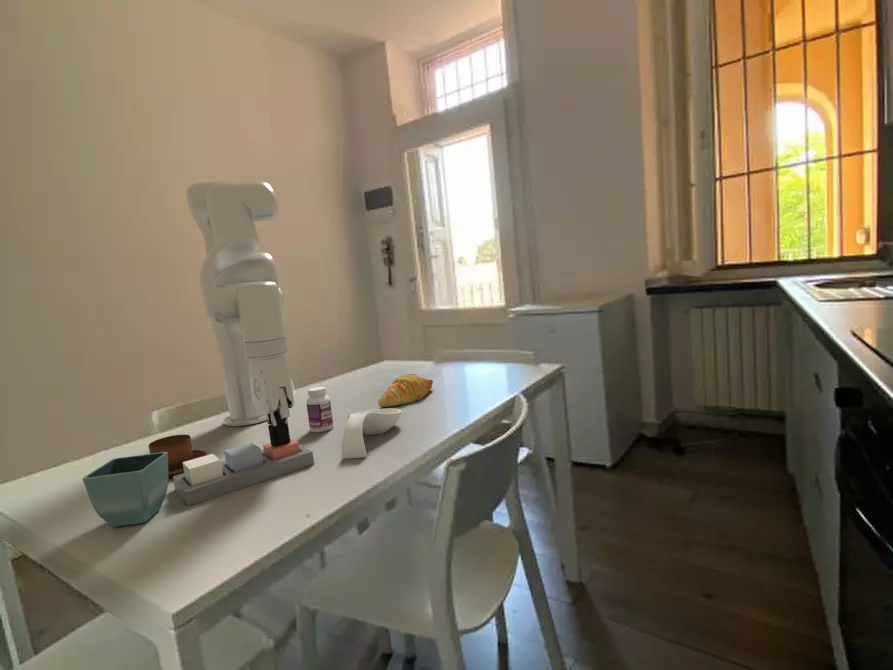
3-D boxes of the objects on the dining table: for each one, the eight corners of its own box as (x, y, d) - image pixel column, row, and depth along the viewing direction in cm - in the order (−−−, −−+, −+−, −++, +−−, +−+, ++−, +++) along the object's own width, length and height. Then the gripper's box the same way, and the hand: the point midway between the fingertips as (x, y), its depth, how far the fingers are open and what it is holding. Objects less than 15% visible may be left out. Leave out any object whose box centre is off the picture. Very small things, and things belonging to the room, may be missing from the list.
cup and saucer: (144, 468, 107) (139, 439, 106) (208, 454, 111) (203, 426, 110) (135, 489, 96) (129, 456, 95) (207, 472, 100) (202, 442, 100)
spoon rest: (357, 424, 123) (353, 394, 122) (406, 420, 122) (403, 390, 121) (325, 462, 100) (320, 425, 99) (386, 458, 98) (381, 421, 98)
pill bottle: (327, 432, 118) (322, 390, 116) (306, 433, 119) (300, 392, 118) (337, 425, 123) (332, 385, 122) (316, 425, 124) (311, 386, 123)
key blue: (226, 466, 96) (224, 450, 96) (254, 457, 99) (251, 442, 99) (235, 472, 92) (232, 456, 92) (263, 464, 95) (260, 448, 95)
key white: (185, 478, 92) (182, 462, 91) (215, 469, 95) (212, 453, 94) (192, 486, 88) (189, 469, 87) (223, 476, 91) (220, 459, 90)
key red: (265, 460, 100) (263, 444, 100) (290, 452, 103) (288, 437, 103) (274, 466, 96) (272, 450, 96) (300, 457, 99) (298, 442, 99)
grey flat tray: (175, 489, 93) (172, 476, 93) (293, 452, 106) (291, 441, 106) (188, 505, 85) (185, 491, 85) (314, 463, 99) (312, 451, 98)
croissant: (390, 424, 132) (397, 398, 129) (362, 403, 136) (369, 377, 133) (440, 400, 149) (447, 376, 145) (414, 382, 153) (421, 359, 150)
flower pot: (123, 509, 87) (113, 457, 85) (177, 502, 87) (168, 450, 86) (91, 536, 78) (80, 478, 77) (153, 528, 78) (142, 470, 77)
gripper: (233, 350, 101) (248, 442, 103) (260, 355, 89) (275, 459, 91) (272, 343, 105) (285, 432, 107) (302, 347, 93) (316, 446, 96)
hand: (280, 444), depth 99 cm, fingers closed
